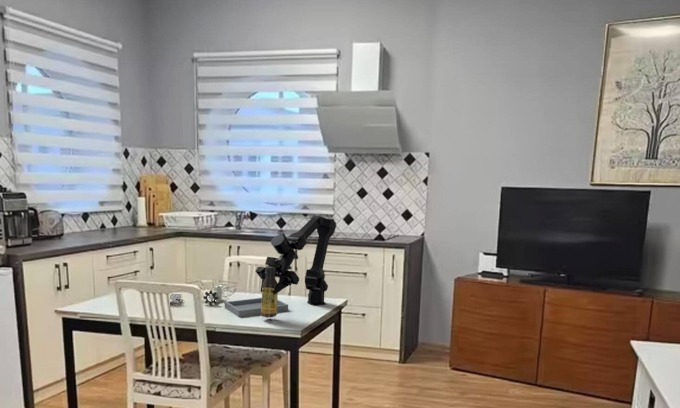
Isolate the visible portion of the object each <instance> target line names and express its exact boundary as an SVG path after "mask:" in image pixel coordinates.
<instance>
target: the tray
mask: <svg viewBox="0 0 680 408" xmlns="http://www.w3.org/2000/svg"><path fill="white" fill-rule="evenodd" d="M261 304H262V297H257V298H247V299H239V300H229V301H224V308H225V309H226V310H227V311H229V312H230V313H232V314H234V315H235V316H237V317H238V318H243V317H250V316H257V315H261V313H262V312H261ZM287 311H289V304H288V303H285V302H283V301H281V300H280V299H277V313H279V312H287Z"/></svg>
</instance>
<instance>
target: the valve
mask: <svg viewBox="0 0 680 408" xmlns="http://www.w3.org/2000/svg"><path fill="white" fill-rule="evenodd" d="M202 298H203V299H204V300H205V301H204V303H205V304H208V303H209V304H208V305H209V306H212V305H213V304H214V305H215V304H217V302H221V301H223V285H221V284H220V285H218V284H217V285H214V286H213V290H209V292H208V291H205V292H204V296H203V297H202ZM209 300H210V301H209ZM215 300H216V301H215Z"/></svg>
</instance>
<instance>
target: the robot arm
mask: <svg viewBox="0 0 680 408" xmlns="http://www.w3.org/2000/svg"><path fill="white" fill-rule="evenodd" d="M336 228H337V222H336V221H335V219H333V218H327V217H324V216H321V215H313V216H311V217H310V219H309V220H308V221H307V222H306V223H305V224H304V225H303V226H302V227H301V228H300V229H299V230H298V231H296V232H293V233H291V234H289V235H287V237H286V234H285V233H283V232H280V233H279V234H277V235H275V236H274V237H272V239H271V241H270V244H271V246H272V247H273V249H274V250H275V251H276V252H277V254H278V255H279V256H278V257H274V256H266V259H265V263H264V264H265V266H257V267H256V269H255V273H256V274H257V276H258V277H259V278H260V280H261V286H260V292H261V293H262V286H263V282H264V280H265V278H266V270H265V269H266V266H276V270H275V278H279V279H278V282H277V283H278V284H277V286H276V288H275V290H274V292H273V294H277V293H280V292H281V291H282V290H284V289H286V288H287V287H289V286H292V285H295V286H296V285H299V282H300V277H299V275H298V274H297V273H296V271H294V270H291V269H292V267H291V265H292V263H293V262H294V260H299V255H298V252H297V251H301V250H303V249H304V248H305V246H306V245H307V239H309V237H310V236H311V235H312V234H313V233H314V232H315V231H317V235H318V238H317V242H316V247H315V252H314V256H313V260H312V265H311V267H310V268H309V269H307V270H306V273H305V276H304V285H305V289H306V290H308V294H307V301H306V303H308V304H310V305H312V306H318V305H319V306H320V305H326V304H327V302H325V292H326V291H327V290H328V288H329V285H328V284H327V282H326V280H325V277H326V275H325V272H324V265H325V261H326V260H325V259H326V255H327V251H328V246H329V241H330V238H332V236H333V235H335V231H336Z"/></svg>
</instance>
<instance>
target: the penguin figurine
mask: <svg viewBox="0 0 680 408" xmlns="http://www.w3.org/2000/svg"><path fill="white" fill-rule="evenodd" d="M182 298H183V296H182V294H171V295H170V299H171V302H172V303H174V304H175V305H176V304H177V305H178V304H179V303H180V301H179V300H181V299H182ZM176 299H177V300H176Z"/></svg>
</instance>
